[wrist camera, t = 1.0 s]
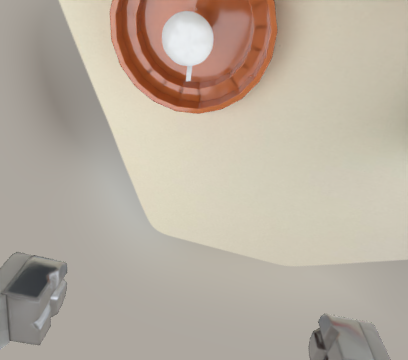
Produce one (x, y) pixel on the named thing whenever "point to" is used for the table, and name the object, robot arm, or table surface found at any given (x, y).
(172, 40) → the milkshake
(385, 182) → the table surface
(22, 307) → the robot arm
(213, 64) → the bowl
